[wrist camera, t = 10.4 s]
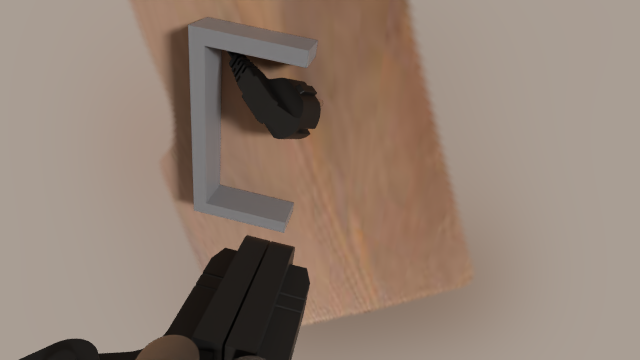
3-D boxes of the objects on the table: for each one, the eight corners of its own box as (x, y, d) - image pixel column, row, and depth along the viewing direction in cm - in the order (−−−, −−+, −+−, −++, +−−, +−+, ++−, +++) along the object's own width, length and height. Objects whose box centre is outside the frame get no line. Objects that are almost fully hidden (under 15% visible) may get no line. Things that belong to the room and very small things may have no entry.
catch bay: (207, 17, 37) (188, 24, 34) (317, 40, 37) (309, 50, 33) (208, 191, 49) (194, 210, 46) (292, 212, 48) (283, 232, 45)
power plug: (230, 14, 36) (296, 107, 32) (285, 31, 42) (346, 112, 38) (204, 60, 39) (261, 151, 35) (258, 71, 45) (312, 149, 41)
